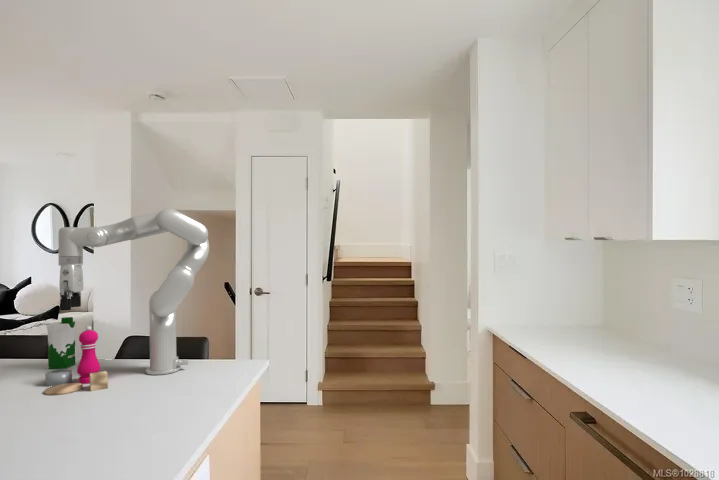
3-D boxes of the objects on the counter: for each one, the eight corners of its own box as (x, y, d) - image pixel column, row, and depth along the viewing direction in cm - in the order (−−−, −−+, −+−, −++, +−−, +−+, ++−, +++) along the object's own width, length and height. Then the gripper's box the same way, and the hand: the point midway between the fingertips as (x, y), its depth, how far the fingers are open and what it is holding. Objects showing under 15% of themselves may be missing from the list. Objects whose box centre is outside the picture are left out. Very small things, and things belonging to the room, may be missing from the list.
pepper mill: (89, 384, 162) (89, 328, 162) (72, 383, 163) (71, 327, 164) (105, 378, 169) (104, 324, 169) (88, 378, 170) (87, 324, 171)
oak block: (106, 385, 161) (106, 370, 161) (107, 388, 157) (107, 374, 157) (89, 387, 159) (89, 373, 159) (90, 391, 154) (90, 376, 154)
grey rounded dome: (75, 379, 169) (75, 368, 170) (67, 385, 162) (67, 374, 162) (50, 381, 168) (50, 370, 168) (41, 387, 160) (41, 376, 160)
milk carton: (68, 369, 184) (67, 319, 184) (44, 370, 183) (43, 320, 183) (79, 363, 193) (78, 316, 193) (56, 364, 192) (55, 316, 192)
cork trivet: (87, 383, 163) (87, 381, 163) (76, 393, 152) (76, 391, 152) (52, 386, 160) (52, 384, 160) (38, 396, 149) (38, 394, 149)
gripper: (73, 261, 159) (73, 311, 159) (90, 260, 176) (90, 305, 175) (49, 262, 157) (49, 312, 157) (68, 260, 174) (68, 306, 174)
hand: (70, 308), depth 166 cm, fingers open, 9 cm apart
